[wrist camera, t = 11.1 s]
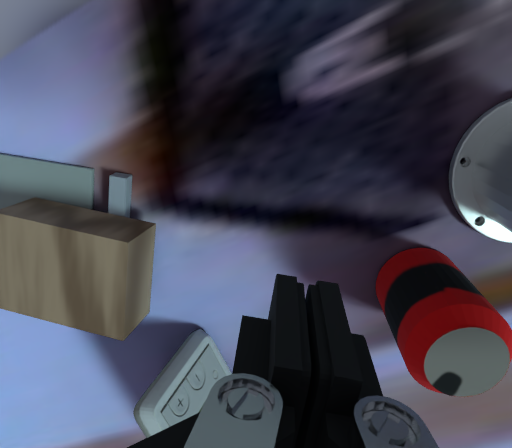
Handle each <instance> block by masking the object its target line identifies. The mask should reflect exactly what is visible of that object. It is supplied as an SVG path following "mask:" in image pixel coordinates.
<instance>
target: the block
mask: <svg viewBox="0 0 512 448" xmlns="http://www.w3.org/2000/svg"><path fill="white" fill-rule="evenodd" d="M155 229H156V224H155V223H150V222H146V221H141V220H137V219H132V218H127V217H123V216H118V215H114V214H109V213H104V212H100V211H95V210H91V209H86V208H82V207H77V206H72V205H68V204H63V203H59V202H54V201H49V200H45V199H40V198H36V197H34V198H31V199H28V200H25V201H23V202H20V203H17V204H14V205H11V206H8V207H5V208H2V209H0V308H1V309H4V310H8V311H12V312H16V313H19V314H23V315H27V316H31V317H34V318H38V319H42V320H46V321H50V322H53V323H57V324H61V325H65V326H68V327H72V328H76V329H80V330H83V331H87V332H91V333H95V334H98V335H102V336H106V337H110V338H114V339H117V340H121V341H124V340H125V339H126V338H127V336H128V335H129V334H130V333H131V332H132V331H133V330H134V329H135V328H136V326H137V325H138V324H139V323H140V322H141V321H142V320H143V319H144V318H145V316H146V315H147V314H148V313H149V311H150V297H151V284H152V270H153V256H154V243H155Z"/></svg>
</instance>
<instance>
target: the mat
mask: <svg viewBox="0 0 512 448" xmlns="http://www.w3.org/2000/svg"><path fill="white" fill-rule="evenodd" d="M93 196H94V169H93V168H87V167H81V166H75V165H69V164H63V163H57V162H50V161H44V160H38V159H32V158H26V157H20V156H14V155H8V154H1V153H0V209H2V208H5V207H8V206H11V205H14V204H17V203H20V202H23V201H25V200H28V199H31V198H34V197H36V198H40V199H45V200H49V201H54V202H59V203H63V204H68V205H72V206H77V207H82V208H86V209H91V210H93Z"/></svg>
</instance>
